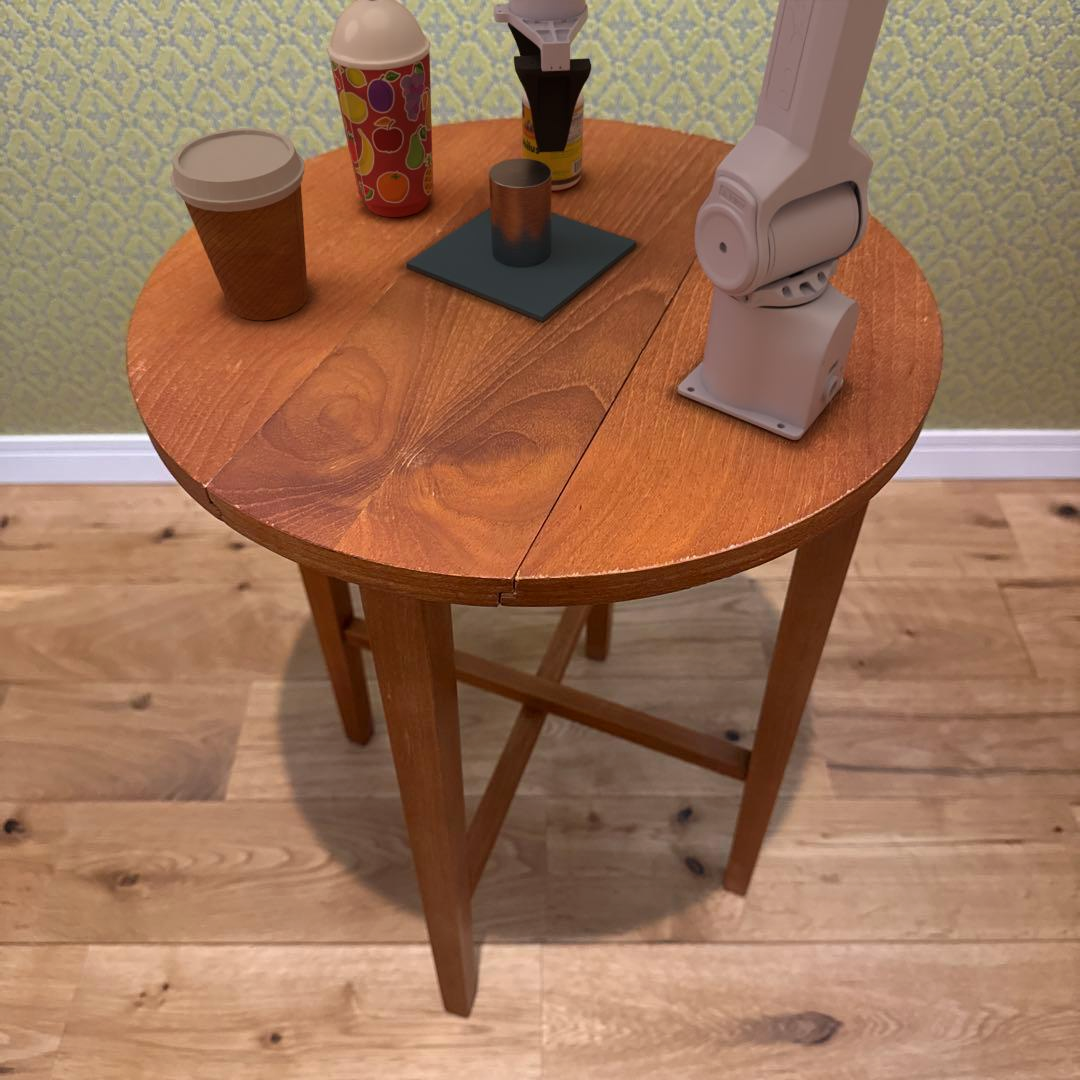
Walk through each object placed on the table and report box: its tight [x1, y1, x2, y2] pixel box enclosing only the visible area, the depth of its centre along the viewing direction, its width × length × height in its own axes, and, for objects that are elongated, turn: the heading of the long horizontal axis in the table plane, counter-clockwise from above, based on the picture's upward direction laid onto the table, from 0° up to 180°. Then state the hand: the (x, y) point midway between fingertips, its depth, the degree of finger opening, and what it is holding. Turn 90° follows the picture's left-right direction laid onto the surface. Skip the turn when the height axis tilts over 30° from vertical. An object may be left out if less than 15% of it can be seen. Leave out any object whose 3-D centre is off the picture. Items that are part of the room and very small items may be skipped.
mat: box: [405, 207, 637, 323], centre depth 82 cm, size 14×14×1 cm
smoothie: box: [326, 0, 434, 218], centre depth 82 cm, size 8×8×20 cm
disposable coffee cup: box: [170, 127, 309, 321], centre depth 74 cm, size 10×10×12 cm
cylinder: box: [488, 158, 552, 267], centre depth 80 cm, size 5×5×7 cm
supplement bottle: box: [521, 89, 585, 191], centre depth 88 cm, size 6×6×10 cm
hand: (547, 129), depth 79 cm, fingers open, 7 cm apart
